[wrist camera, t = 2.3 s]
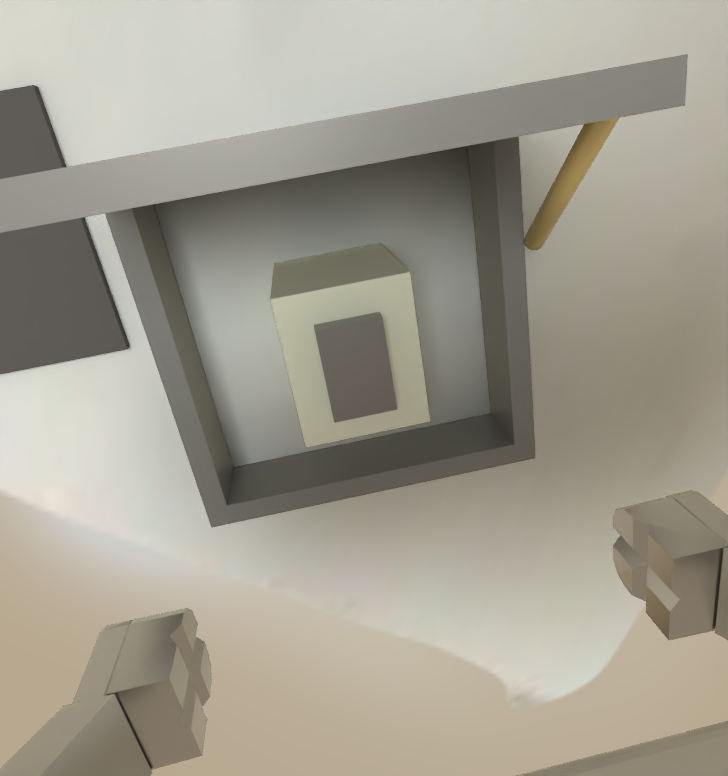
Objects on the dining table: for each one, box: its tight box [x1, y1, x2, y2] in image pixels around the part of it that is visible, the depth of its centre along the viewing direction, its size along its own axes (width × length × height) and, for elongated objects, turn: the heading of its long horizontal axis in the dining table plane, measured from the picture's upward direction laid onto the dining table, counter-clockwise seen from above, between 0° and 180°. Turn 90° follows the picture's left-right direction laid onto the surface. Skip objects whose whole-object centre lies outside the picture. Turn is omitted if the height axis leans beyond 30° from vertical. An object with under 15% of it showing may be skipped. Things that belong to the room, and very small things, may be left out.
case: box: [0, 54, 688, 527], centre depth 21 cm, size 17×16×14 cm
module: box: [270, 243, 430, 447], centre depth 24 cm, size 5×6×8 cm
